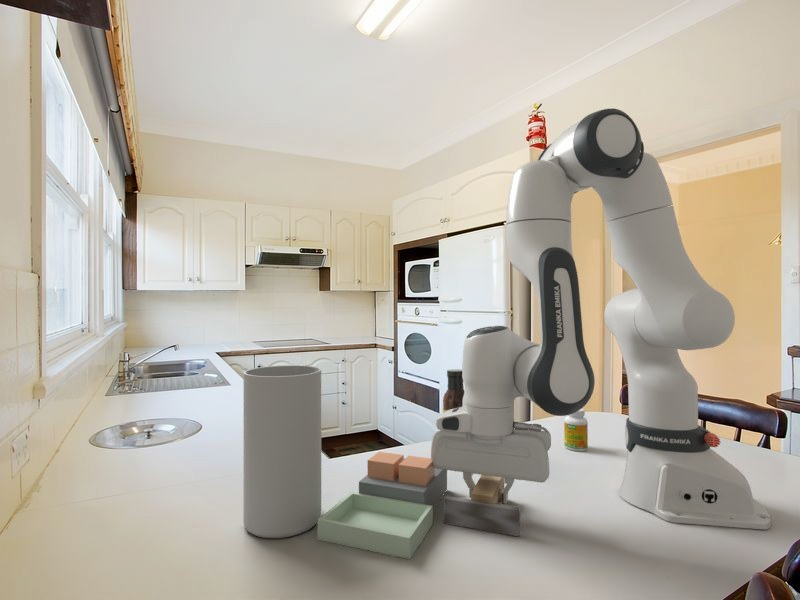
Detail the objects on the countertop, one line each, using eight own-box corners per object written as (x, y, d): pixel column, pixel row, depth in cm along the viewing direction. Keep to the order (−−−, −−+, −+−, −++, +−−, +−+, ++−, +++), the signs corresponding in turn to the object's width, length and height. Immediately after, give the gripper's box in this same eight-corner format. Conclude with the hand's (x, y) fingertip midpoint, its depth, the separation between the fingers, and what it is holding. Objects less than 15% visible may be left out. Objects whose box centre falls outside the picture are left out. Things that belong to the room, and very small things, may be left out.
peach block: (434, 475, 82) (434, 459, 82) (425, 486, 78) (425, 468, 78) (408, 471, 84) (408, 455, 84) (398, 481, 80) (398, 464, 80)
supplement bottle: (563, 450, 112) (563, 410, 112) (564, 443, 117) (564, 405, 117) (587, 452, 110) (587, 412, 110) (587, 446, 115) (587, 407, 115)
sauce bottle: (468, 458, 106) (467, 372, 106) (441, 456, 108) (441, 371, 108) (469, 449, 113) (469, 368, 113) (444, 447, 114) (444, 368, 114)
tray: (432, 524, 75) (432, 505, 75) (409, 559, 64) (409, 538, 64) (351, 509, 80) (351, 491, 80) (317, 539, 70) (317, 519, 70)
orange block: (403, 471, 85) (403, 454, 85) (393, 481, 80) (393, 463, 80) (379, 467, 86) (379, 451, 86) (367, 477, 82) (367, 460, 82)
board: (447, 489, 88) (447, 464, 88) (424, 522, 75) (424, 492, 75) (389, 481, 93) (389, 456, 93) (358, 510, 80) (358, 481, 80)
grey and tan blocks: (528, 501, 83) (527, 473, 83) (518, 536, 70) (518, 504, 71) (463, 491, 87) (463, 465, 87) (443, 523, 75) (443, 492, 75)
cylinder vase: (240, 512, 79) (240, 367, 79) (312, 499, 84) (312, 363, 84) (247, 547, 68) (247, 379, 68) (329, 530, 73) (329, 373, 73)
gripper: (551, 420, 79) (552, 500, 79) (437, 410, 86) (438, 484, 86) (549, 430, 73) (550, 517, 73) (427, 418, 80) (427, 497, 80)
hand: (488, 499), depth 79 cm, fingers closed on grey and tan blocks, 3 cm apart
